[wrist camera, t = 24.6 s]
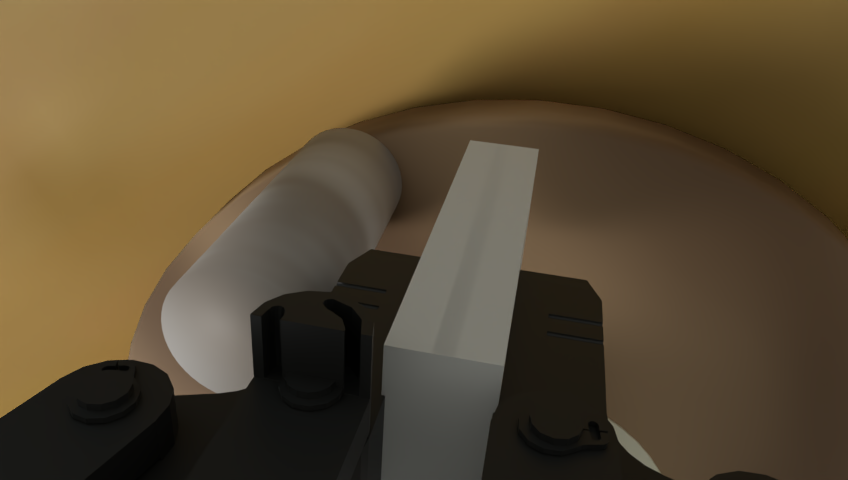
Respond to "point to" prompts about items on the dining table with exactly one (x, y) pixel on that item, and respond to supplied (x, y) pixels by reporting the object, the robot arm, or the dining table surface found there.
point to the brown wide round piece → (562, 273)
